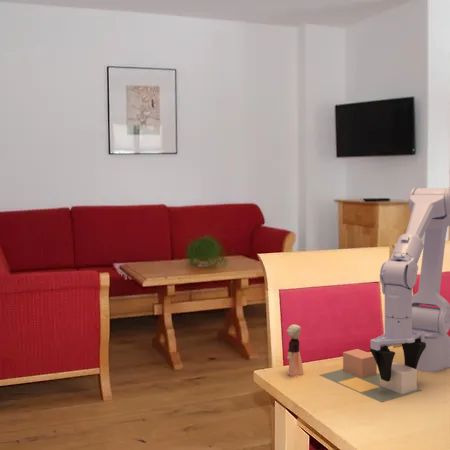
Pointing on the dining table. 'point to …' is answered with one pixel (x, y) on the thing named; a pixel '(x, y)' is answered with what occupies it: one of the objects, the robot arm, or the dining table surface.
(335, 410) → the dining table surface
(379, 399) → the baseplate
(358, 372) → the terracotta brick
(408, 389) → the cream brick
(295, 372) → the grandmother figurine
